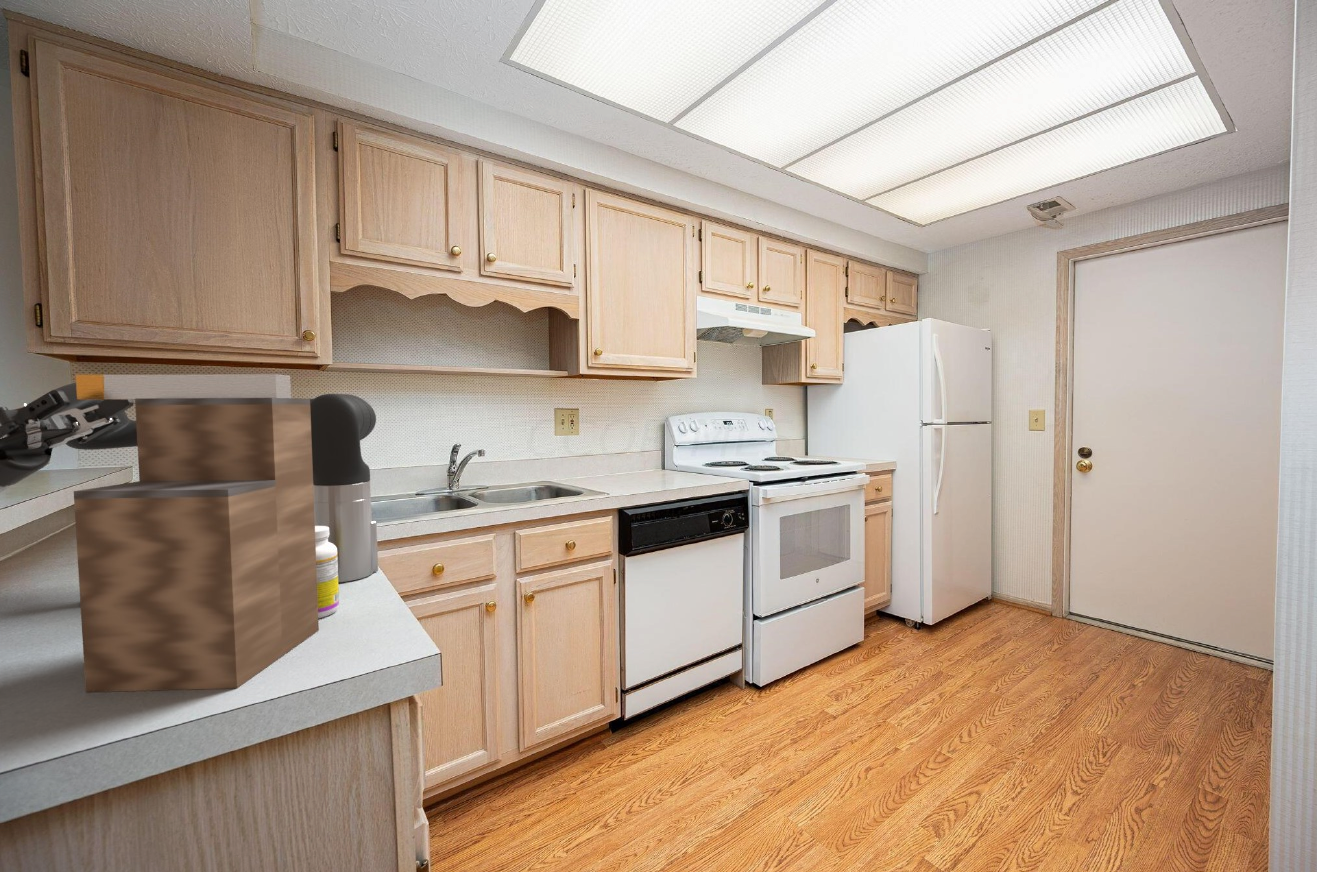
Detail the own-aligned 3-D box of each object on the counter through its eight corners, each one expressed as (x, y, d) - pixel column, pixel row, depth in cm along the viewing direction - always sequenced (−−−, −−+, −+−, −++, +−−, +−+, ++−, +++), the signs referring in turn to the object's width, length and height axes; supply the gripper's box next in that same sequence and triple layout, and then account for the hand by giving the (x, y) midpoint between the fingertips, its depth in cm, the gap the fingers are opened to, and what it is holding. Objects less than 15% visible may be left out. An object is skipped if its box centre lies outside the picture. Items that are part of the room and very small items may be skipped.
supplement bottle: (277, 617, 83) (274, 531, 82) (322, 603, 89) (319, 522, 88) (304, 625, 80) (301, 535, 79) (349, 610, 86) (346, 526, 85)
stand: (85, 692, 61) (67, 397, 60) (199, 633, 77) (187, 399, 76) (237, 688, 62) (223, 396, 60) (318, 630, 78) (309, 398, 76)
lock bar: (77, 399, 70) (75, 374, 69) (100, 399, 73) (99, 376, 73) (276, 398, 71) (275, 374, 70) (291, 398, 74) (290, 375, 74)
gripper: (-106, 440, 64) (19, 367, 64) (29, 434, 78) (131, 374, 78) (-67, 496, 64) (57, 424, 64) (60, 480, 78) (162, 420, 79)
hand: (98, 396), depth 71 cm, fingers open, 8 cm apart
